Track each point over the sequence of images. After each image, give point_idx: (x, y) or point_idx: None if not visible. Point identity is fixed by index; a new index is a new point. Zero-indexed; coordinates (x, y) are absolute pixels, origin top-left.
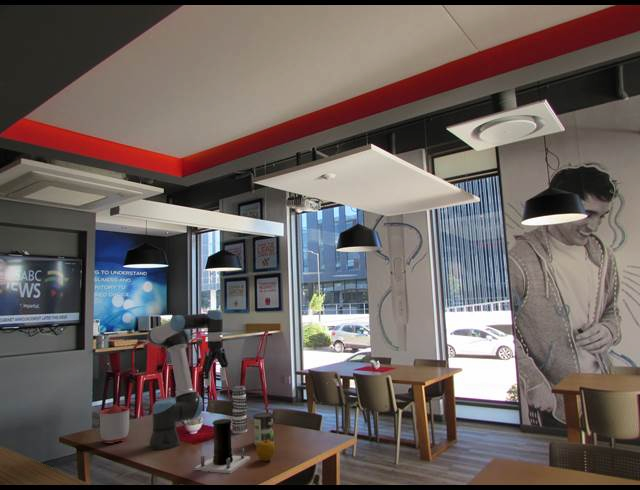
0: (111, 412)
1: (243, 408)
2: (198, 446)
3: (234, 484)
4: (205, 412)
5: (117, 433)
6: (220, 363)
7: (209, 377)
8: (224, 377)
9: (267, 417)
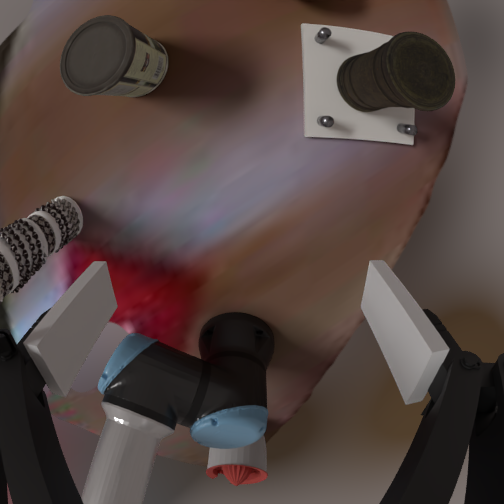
0: (248, 473)
1: (25, 223)
2: (221, 252)
3: (453, 19)
4: None
5: None
6: (51, 434)
7: (417, 309)
8: (93, 278)
9: (119, 18)
